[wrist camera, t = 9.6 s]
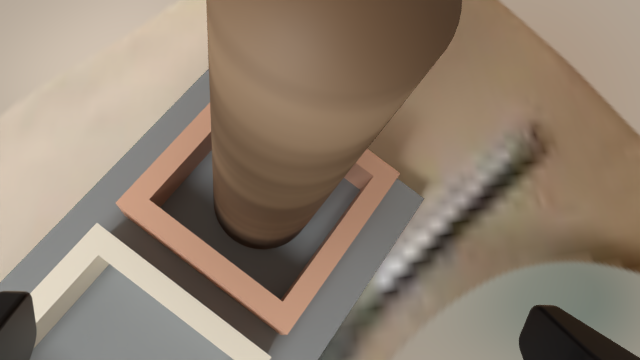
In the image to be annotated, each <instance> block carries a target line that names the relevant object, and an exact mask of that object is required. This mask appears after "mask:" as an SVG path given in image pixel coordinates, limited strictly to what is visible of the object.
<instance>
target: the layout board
mask: <svg viewBox="0 0 640 360" xmlns="http://www.w3.org/2000/svg"><path fill="white" fill-rule="evenodd" d="M399 175H400V173H399V172H398V171H397V170H395V169H394V168H393V167H391V166H390V165H389V164H387V163H386V162H385V161H383V160H382V159H381V158H379V157H378V156H377V155H375V154H374V153H373V152H371V151H370V150H369V149H366V150H365V152H364V153H363V154H362V155H361V157H360V158H359V159H358V160H357V162H356V163H355V164H354V165H353V167H352V168H351V169H350V170H349V172H348V173H347V174H346V176H345V177H344V178H343V179H342V181H341V182H340V183H339V184H338V186H337V187H336V188H335V189H334V191H333V192H332V193H331V194H330V196H329V197H328V198H327V199H326V201H325V202H324V203H323V204H322V206H321V207H320V208H319V209H318V211H317V212H316V213H315V214H314V216H313V217H312V218H311V219H310V221H309V222H308V223H307V225H306V226H305V227H304V228H303V230H302V231H301V232H300V233H299V234H298V235H297V236H296V237H295V238H294V239H293V240H291V241H290V242H288V243H287V244H285V245H282V246H280V247H277V248H273V249H254V248H249V247H246V246H244V245H241V244H239V243H238V242H236V241H234V240H233V239H232V238H231V237H229V236H228V235H227V234H226V233H225V231H224V230H223V229H222V227H221V226H220V224H219V222H218V220H217V217H216V214H215V210H214V197H213V169H212V141H211V114H210V86H209V69H208V70H207V71H206V72H205V73H204V74H203V75H202V76H201V77H200V78H199V79H198V80H197V81H196V82H195V83H194V84H193V85H192V86H191V87H190V88H189V89H188V90H187V91H186V92H185V93H184V94H183V95H182V97H181V98H180V99H179V100H178V101H177V102H176V103H175V104H174V105H173V106H172V107H171V108H170V109H169V110H168V111H167V112H166V113H165V114H164V115H163V116H162V117H161V118H160V119H159V120H158V121H157V122H156V123H155V124H154V125H153V126H152V127H151V128H150V129H149V130H148V131H147V132H146V133H145V134H144V136H143V137H142V138H141V139H140V140H139V141H138V142H137V143H136V144H135V145H134V146H133V147H132V148H131V149H130V150H129V151H128V152H127V153H126V154H125V155H124V156H123V157H122V158H121V159H120V160H119V161H118V162H117V163H116V164H115V165H114V166H113V167H112V168H111V169H110V170H109V171H108V172H107V174H106V175H105V176H104V177H103V178H102V179H101V180H100V181H99V182H98V183H97V184H96V185H95V186H94V187H93V188H92V189H91V190H90V191H89V192H88V193H87V194H86V195H85V196H84V197H83V198H82V199H81V200H80V201H79V202H78V203H77V204H76V205H75V206H74V207H73V208H72V209H71V210H70V211H69V213H68V214H67V215H66V216H65V217H64V218H63V219H62V220H61V221H60V222H59V223H58V224H57V225H56V226H55V227H54V228H53V229H52V230H51V231H50V232H49V233H48V234H47V235H46V236H45V237H44V238H43V239H42V240H41V241H40V242H39V243H38V244H37V245H36V246H35V247H34V248H33V249H32V250H31V252H30V253H29V254H28V255H27V256H26V257H25V258H24V259H23V260H22V261H21V262H20V263H19V264H18V265H17V266H16V267H15V268H14V269H13V270H12V271H11V272H10V273H9V274H8V275H7V276H6V277H5V278H4V279H3V280H2V281H1V282H0V292H1V291H27V292H29V293H30V294H31V296H32V300H33V307H34V314H35V321H36V328H37V336H36V342H35V345H34V348H33V352H32V355H31V358H30V360H318V358H319V357H320V355H321V354H322V352H323V351H324V349H325V348H326V346H327V345H328V343H329V342H330V340H331V339H332V337H333V336H334V334H335V333H336V331H337V330H338V328H339V327H340V325H341V324H342V322H343V321H344V319H345V318H346V316H347V315H348V313H349V312H350V310H351V309H352V307H353V305H354V304H355V302H356V301H357V299H358V298H359V296H360V295H361V293H362V292H363V290H364V289H365V287H366V286H367V284H368V283H369V281H370V280H371V278H372V277H373V275H374V274H375V272H376V271H377V269H378V268H379V266H380V265H381V263H382V262H383V260H384V259H385V257H386V256H387V254H388V253H389V251H390V250H391V248H392V247H393V245H394V244H395V242H396V241H397V239H398V238H399V236H400V235H401V233H402V232H403V230H404V229H405V227H406V226H407V224H408V222H409V221H410V219H411V218H412V216H413V215H414V213H415V212H416V210H417V209H418V207H419V206H420V204H421V203H422V201H423V200H424V198H423V197H421V196H420V195H419V194H417V193H416V192H415V191H413V190H412V189H411V188H409V187H408V186H407V185H405V184H404V183H403V182H401V181H400V180H399V179H397V178H398V176H399Z"/></svg>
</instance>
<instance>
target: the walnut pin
mask: <svg viewBox="0 0 640 360" xmlns="http://www.w3.org/2000/svg"><path fill="white" fill-rule="evenodd" d="M206 2H207V30H208V58H209V86H210V114H211V141H212V169H213V197H214V210H215V214H216V217H217V220H218V222H219V224H220V226H221V227H222V229H223V230H224V231H225V233H226V234H227V235H228V236H229V237H231V238H232V239H233V240H234V241H236V242H238V243H239V244H241V245H244V246H246V247H249V248H254V249H273V248H277V247H280V246H282V245H285V244H287V243H288V242H290V241H291V240H293V239H294V238H295V237H296V236H297V235H298V234H299V233H300V232H301V231H302V230H303V228H304V227H305V226H306V225H307V223H308V222H309V221H310V219H311V218H312V217H313V216H314V214H315V213H316V212H317V211H318V209H319V208H320V207H321V206H322V204H323V203H324V202H325V201H326V199H327V198H328V197H329V196H330V194H331V193H332V192H333V191H334V189H335V188H336V187H337V186H338V184H339V183H340V182H341V181H342V179H343V178H344V177H345V176H346V174H347V173H348V172H349V170H350V169H351V168H352V167H353V165H354V164H355V163H356V162H357V160H358V159H359V158H360V157H361V155H362V154H363V153H364V152H365V150H366V149H367V148H368V147H369V145H370V144H371V143H372V142H373V140H374V139H375V138H376V137H377V135H378V134H379V133H380V132H381V130H382V129H383V128H384V127H385V125H386V124H387V123H388V122H389V120H390V119H391V118H392V116H393V115H394V114H395V113H396V111H397V110H398V109H399V108H400V106H401V105H402V104H403V103H404V101H405V100H406V99H407V98H408V96H409V95H410V94H411V93H412V91H413V90H414V89H415V88H416V86H417V85H418V84H419V83H420V81H421V80H422V79H423V78H424V76H425V75H426V74H427V73H428V71H429V70H430V69H431V68H432V66H433V65H434V64H435V62H436V61H437V60H438V59H439V57H440V56H441V55H442V54H443V52H444V51H445V50H446V49H447V47H448V45H449V44H450V42H451V40H452V38H453V37H454V34H455V31H456V29H457V26H458V23H459V19H460V14H461V6H462V0H206Z"/></svg>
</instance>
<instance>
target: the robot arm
mask: <svg viewBox="0 0 640 360" xmlns="http://www.w3.org/2000/svg"><path fill="white" fill-rule="evenodd" d="M36 336H37V328H36V321H35V314H34V307H33V300H32V296H31V294H30V293H29V292H27V291H1V292H0V360H30V358H31V355H32V352H33V348H34V345H35V342H36ZM519 347H520V351H521V354H522V356H523V359H524V360H640V358H639V357H637V356H636V355H634V354H632V353H631V352H629V351H628V350H626V349H624V348H623V347H621V346H620V345H618V344H616V343H615V342H613V341H612V340H610V339H608V338H607V337H605V336H604V335H602V334H600V333H599V332H597V331H596V330H594V329H592V328H591V327H589V326H587V325H586V324H584V323H583V322H581V321H580V320H578V319H576V318H575V317H573V316H572V315H570V314H568V313H567V312H565V311H564V310H562V309H560V308H559V307H557V306H553V305H536V306H534V307H533V308H532V309H531V310H530V312H529V315H528V317H527V319H526V322H525V324H524V327H523V329H522V332H521V334H520V337H519Z"/></svg>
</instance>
